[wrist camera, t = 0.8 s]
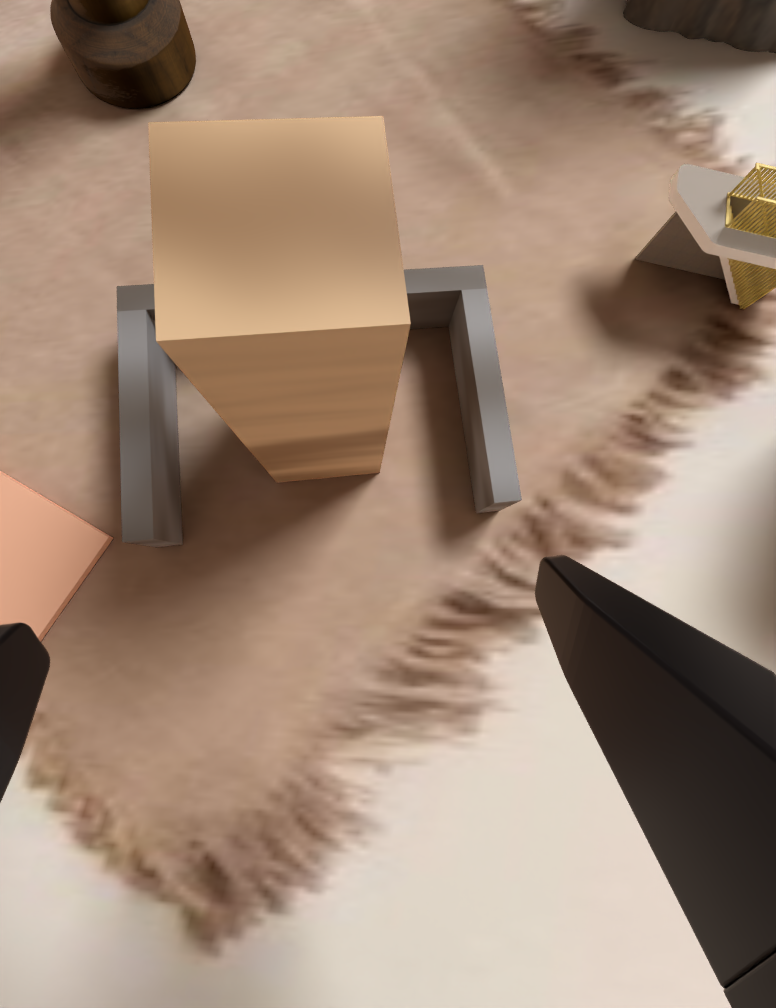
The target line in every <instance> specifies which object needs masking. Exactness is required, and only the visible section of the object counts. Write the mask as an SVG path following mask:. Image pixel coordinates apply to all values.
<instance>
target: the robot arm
mask: <svg viewBox="0 0 776 1008" xmlns="http://www.w3.org/2000/svg"><path fill="white" fill-rule="evenodd" d="M535 597H536V602H537V605H538V607H539V610H540V612H541V615H542V618H543V620H544V623H545V626H546V628H547V631H548V634H549V636H550V639H551V642H552V644H553V647H554V650H555V652H556V655H557V658H558V660H559V663H560V666H561V668H562V670H563V673H564V675H565V678H566V680H567V682H568V684H569V686H570V688H571V690H572V692H573V694H574V696H575V698H576V700H577V702H578V704H579V706H580V708H581V710H582V712H583V714H584V716H585V718H586V720H587V722H588V724H589V726H590V728H591V730H592V732H593V734H594V736H595V738H596V740H597V742H598V744H599V746H600V748H601V749H602V751H603V753H604V755H605V757H606V759H607V761H608V763H609V765H610V767H611V769H612V771H613V773H614V775H615V777H616V779H617V781H618V783H619V785H620V787H621V789H622V791H623V793H624V795H625V797H626V799H627V801H628V803H629V805H630V807H631V809H632V811H633V813H634V815H635V817H636V819H637V821H638V823H639V825H640V827H641V829H642V831H643V833H644V834H645V836H646V838H647V840H648V842H649V844H650V846H651V848H652V850H653V852H654V854H655V856H656V858H657V860H658V862H659V864H660V866H661V868H662V870H663V872H664V874H665V876H666V878H667V880H668V882H669V884H670V886H671V888H672V890H673V892H674V894H675V896H676V898H677V900H678V902H679V904H680V906H681V908H682V910H683V912H684V914H685V916H686V918H687V919H688V921H689V923H690V925H691V927H692V929H693V931H694V933H695V935H696V937H697V939H698V941H699V943H700V945H701V947H702V949H703V951H704V953H705V955H706V957H707V959H708V961H709V963H710V965H711V967H712V969H713V971H714V973H715V975H716V977H717V979H718V981H719V983H720V985H721V986H722V987H723V988H724V993H725V995H726V997H727V999H728V1001H729V1003H730V1005H731V1007H732V1008H776V675H775V674H774V672H772V671H770V670H768V669H767V668H765V667H763V666H761V665H760V664H758V663H756V662H754V661H752V660H751V659H749V658H747V657H745V656H744V655H742V654H740V653H738V652H736V651H735V650H733V649H731V648H729V647H728V646H726V645H724V644H722V643H720V642H719V641H717V640H715V639H713V638H712V637H710V636H708V635H706V634H704V633H703V632H701V631H699V630H697V629H696V628H694V627H692V626H690V625H688V624H687V623H685V622H683V621H681V620H680V619H678V618H676V617H674V616H672V615H671V614H669V613H667V612H665V611H664V610H662V609H660V608H658V607H656V606H655V605H653V604H651V603H649V602H648V601H646V600H644V599H642V598H640V597H639V596H637V595H635V594H633V593H632V592H630V591H628V590H626V589H624V588H623V587H621V586H619V585H617V584H616V583H614V582H612V581H610V580H608V579H607V578H605V577H603V576H601V575H600V574H598V573H596V572H594V571H592V570H591V569H589V568H587V567H585V566H584V565H582V564H580V563H578V562H576V561H575V560H573V559H571V558H569V557H567V556H565V555H557V556H549V557H545V558H543V559H542V560H541V562H540V565H539V571H538V577H537V582H536V588H535ZM49 667H50V657H49V654H48V652H47V650H46V649H45V647H44V646H43V644H42V643H41V642H40V640H39V639H38V637H37V636H36V634H35V633H34V631H33V630H32V628H31V627H30V626H29V625H27V624H25V623H21V622H18V623H10V624H2V625H0V802H1V800H2V798H3V796H4V793H5V791H6V789H7V786H8V784H9V782H10V780H11V777H12V775H13V773H14V770H15V768H16V765H17V763H18V761H19V758H20V755H21V752H22V750H23V747H24V744H25V741H26V738H27V735H28V732H29V729H30V726H31V723H32V720H33V717H34V714H35V711H36V708H37V705H38V702H39V698H40V695H41V692H42V689H43V686H44V683H45V680H46V677H47V674H48V671H49Z"/></svg>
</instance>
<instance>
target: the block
mask: <svg viewBox="0 0 776 1008" xmlns="http://www.w3.org/2000/svg"><path fill="white" fill-rule="evenodd" d="M148 130H149V158H150V186H151V214H152V242H153V270H154V298H155V326H156V342H157V343H158V344H159V345H160V346H161V348H162V349H163V350H164V351H165V352H166V353H167V355H168V356H169V357H170V358H171V359H172V360H173V362H174V363H175V364H176V365H177V366H178V367H179V369H180V370H181V371H182V372H183V373H184V374H185V376H186V377H187V378H188V379H189V380H190V382H191V383H192V384H193V385H194V386H195V387H196V389H197V390H198V391H199V392H200V393H201V394H202V396H203V397H204V398H205V399H206V400H207V401H208V403H209V404H210V405H211V406H212V407H213V408H214V410H215V411H216V412H217V413H218V414H219V416H220V417H221V418H222V419H223V420H224V421H225V423H226V424H227V425H228V426H229V427H230V428H231V430H232V431H233V432H234V433H235V434H236V435H237V437H238V438H239V439H240V440H241V441H242V442H243V444H244V445H245V446H246V447H247V448H248V450H249V451H250V452H251V453H252V454H253V455H254V457H255V458H256V459H257V460H258V461H259V462H260V464H261V465H262V466H263V467H264V468H265V469H266V471H267V472H268V473H269V474H270V475H271V476H272V478H273V479H274V480H275V481H276V482H277V483H279V482H289V481H300V480H310V479H320V478H331V477H341V476H351V475H362V474H372V473H380V468H381V463H382V458H383V454H384V449H385V444H386V439H387V435H388V430H389V425H390V420H391V416H392V411H393V406H394V401H395V396H396V392H397V387H398V382H399V377H400V373H401V368H402V363H403V358H404V354H405V349H406V344H407V339H408V334H409V330H410V325H411V322H410V314H409V307H408V299H407V292H406V284H405V277H404V269H403V262H402V254H401V247H400V239H399V232H398V224H397V217H396V209H395V202H394V194H393V187H392V179H391V172H390V164H389V157H388V149H387V142H386V134H385V127H384V119H383V116H365V117H328V118H292V119H255V120H219V121H182V122H148Z"/></svg>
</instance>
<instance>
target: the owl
mask: <svg viewBox="0 0 776 1008" xmlns="http://www.w3.org/2000/svg"><path fill="white" fill-rule="evenodd" d="M623 14H624V17H625V18H626V19H627V20H628V21H629V22H630V23H632V24H634V25H636V26H639V27H642V28H644V29H649V30H655V31H673V32H679V33H680V34H681V35H682V36H684V37H686V38H688V39H699V38H704V39H707V40H710V41H714V42H725V43H728V44H730V45H732V46H733V47H735V48H738V49H741V50H745V51H755V52H759V51H769V52H774V53H776V0H627V3H626V8H625V10H624V12H623Z"/></svg>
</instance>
